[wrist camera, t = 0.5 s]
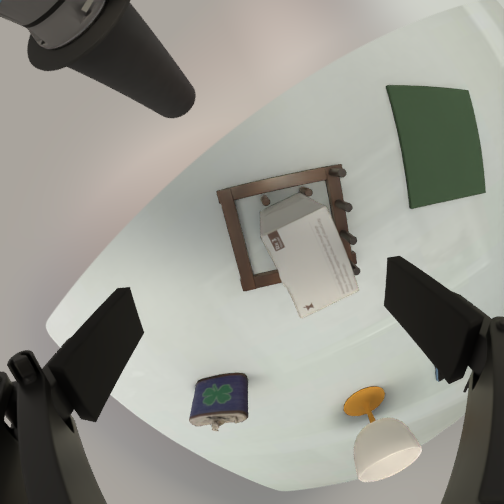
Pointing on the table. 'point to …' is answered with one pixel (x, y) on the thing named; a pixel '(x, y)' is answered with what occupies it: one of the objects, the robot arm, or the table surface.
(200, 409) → the flask
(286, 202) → the cosmetic box
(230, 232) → the rack
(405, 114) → the mat
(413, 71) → the table surface
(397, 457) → the cup
